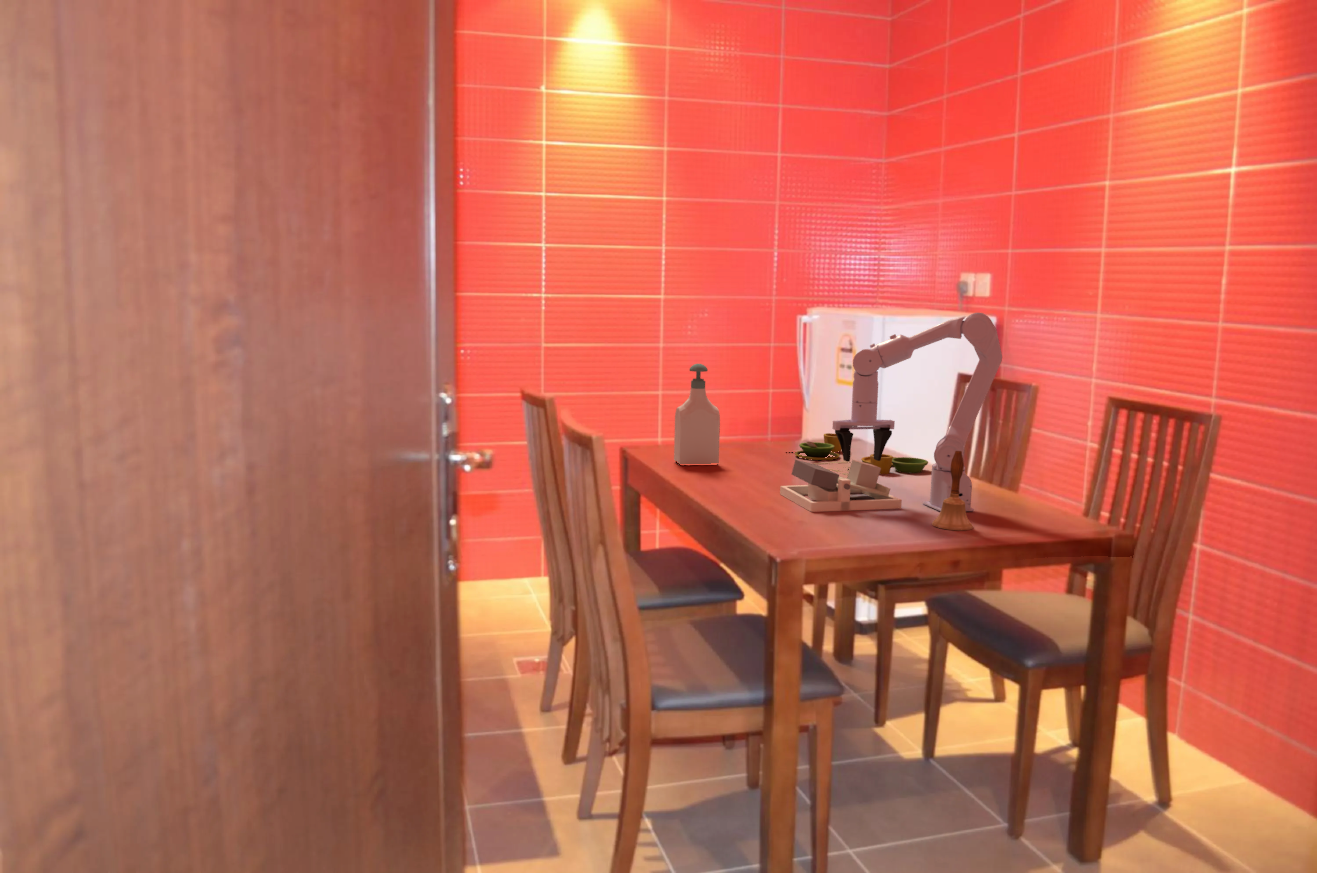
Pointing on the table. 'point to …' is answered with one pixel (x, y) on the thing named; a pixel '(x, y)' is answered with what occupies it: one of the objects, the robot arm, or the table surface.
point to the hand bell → (954, 501)
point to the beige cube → (863, 474)
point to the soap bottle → (697, 425)
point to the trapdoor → (828, 478)
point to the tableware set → (887, 461)
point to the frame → (837, 498)
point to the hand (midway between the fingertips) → (861, 460)
